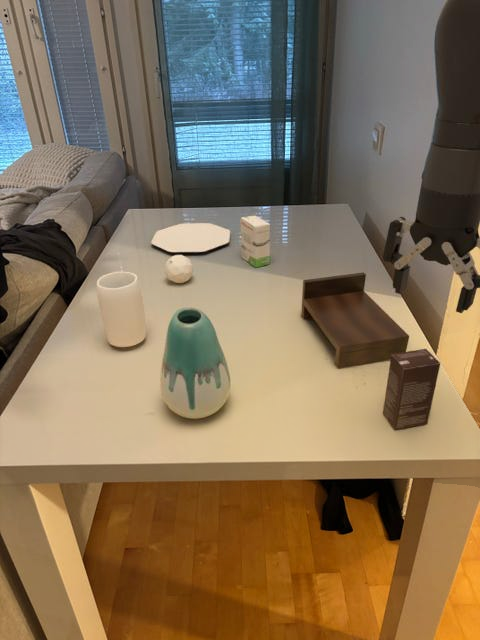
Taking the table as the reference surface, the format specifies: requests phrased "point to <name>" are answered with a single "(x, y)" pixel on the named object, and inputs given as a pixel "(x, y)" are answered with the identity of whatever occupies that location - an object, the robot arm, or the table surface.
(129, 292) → the cup
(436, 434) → the table surface
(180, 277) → the ornament
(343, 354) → the rack
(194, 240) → the plate
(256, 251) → the ink box
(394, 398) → the box
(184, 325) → the vase
